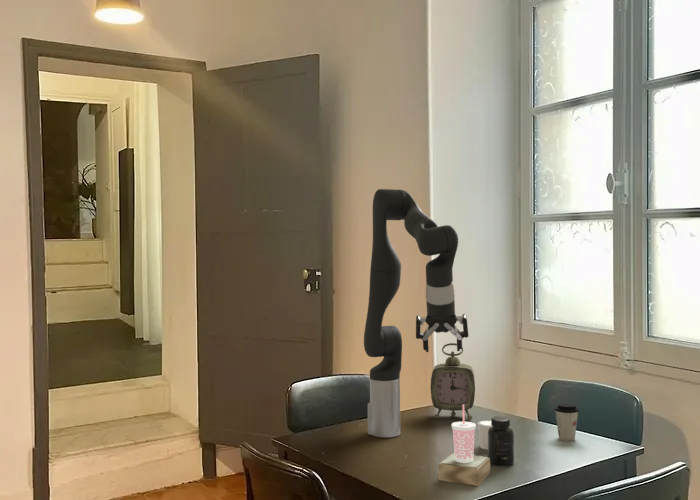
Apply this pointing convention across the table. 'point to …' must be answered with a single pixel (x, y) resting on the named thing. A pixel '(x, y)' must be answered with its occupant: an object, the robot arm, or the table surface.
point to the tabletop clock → (452, 385)
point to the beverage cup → (464, 440)
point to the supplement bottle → (501, 442)
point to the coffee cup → (566, 421)
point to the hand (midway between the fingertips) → (442, 350)
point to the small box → (464, 470)
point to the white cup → (484, 433)
